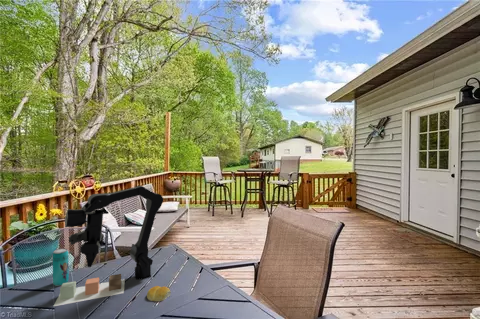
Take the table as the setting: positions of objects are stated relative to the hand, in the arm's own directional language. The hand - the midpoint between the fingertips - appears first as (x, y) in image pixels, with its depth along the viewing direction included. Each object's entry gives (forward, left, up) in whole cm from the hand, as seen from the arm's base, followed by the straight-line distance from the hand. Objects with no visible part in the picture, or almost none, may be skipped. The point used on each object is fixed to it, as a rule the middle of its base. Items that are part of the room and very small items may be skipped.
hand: (91, 262), depth 106 cm
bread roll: (-25, +14, -13) cm, 32 cm away
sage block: (+8, 0, -12) cm, 14 cm away
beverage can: (+14, -14, -13) cm, 23 cm away
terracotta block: (0, 0, -12) cm, 12 cm away
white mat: (0, 0, -12) cm, 12 cm away
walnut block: (-9, 0, -12) cm, 15 cm away
